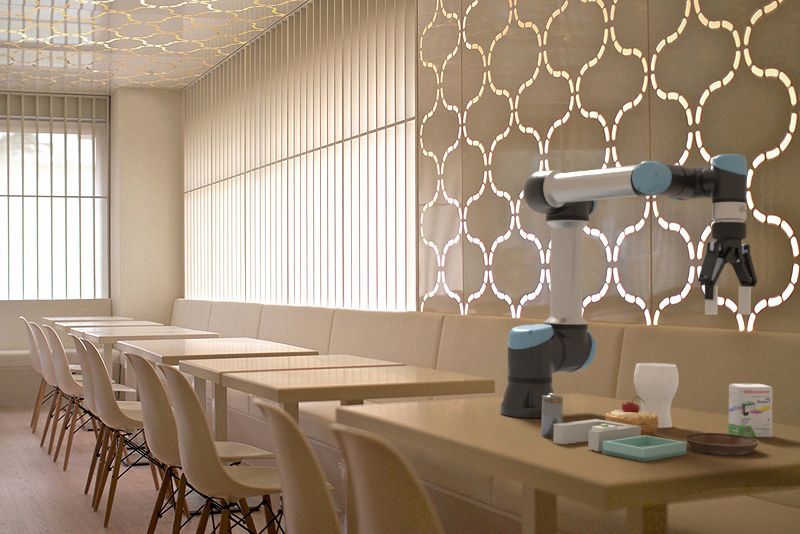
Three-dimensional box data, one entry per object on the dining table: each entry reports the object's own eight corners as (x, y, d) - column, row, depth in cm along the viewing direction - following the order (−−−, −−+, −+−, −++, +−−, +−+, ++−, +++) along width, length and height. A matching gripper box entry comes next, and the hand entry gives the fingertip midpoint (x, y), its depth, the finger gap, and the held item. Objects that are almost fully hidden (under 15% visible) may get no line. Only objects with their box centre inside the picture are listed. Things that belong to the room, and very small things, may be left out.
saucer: (719, 460, 178) (719, 446, 178) (669, 447, 191) (669, 434, 191) (775, 455, 184) (775, 442, 184) (722, 443, 197) (722, 431, 197)
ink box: (739, 437, 204) (740, 385, 204) (727, 434, 209) (728, 383, 209) (773, 437, 206) (773, 385, 206) (760, 433, 211) (761, 383, 211)
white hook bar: (553, 442, 193) (553, 418, 193) (595, 436, 201) (596, 414, 201) (598, 451, 183) (598, 426, 183) (640, 445, 192) (641, 421, 192)
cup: (680, 430, 213) (681, 367, 214) (634, 428, 215) (635, 365, 216) (675, 423, 224) (676, 363, 224) (632, 421, 226) (632, 362, 226)
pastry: (595, 434, 209) (594, 395, 209) (636, 430, 213) (635, 393, 214) (627, 441, 198) (626, 400, 198) (670, 437, 202) (669, 397, 203)
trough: (602, 453, 181) (602, 441, 181) (645, 446, 189) (645, 435, 190) (643, 461, 173) (643, 448, 173) (686, 454, 182) (686, 442, 182)
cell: (537, 435, 201) (537, 393, 202) (551, 434, 204) (551, 391, 204) (552, 438, 198) (553, 395, 198) (566, 436, 201) (567, 394, 201)
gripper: (712, 217, 195) (711, 315, 195) (773, 224, 210) (772, 314, 210) (682, 219, 201) (681, 314, 200) (743, 225, 216) (742, 313, 216)
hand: (728, 314), depth 205 cm, fingers open, 13 cm apart
